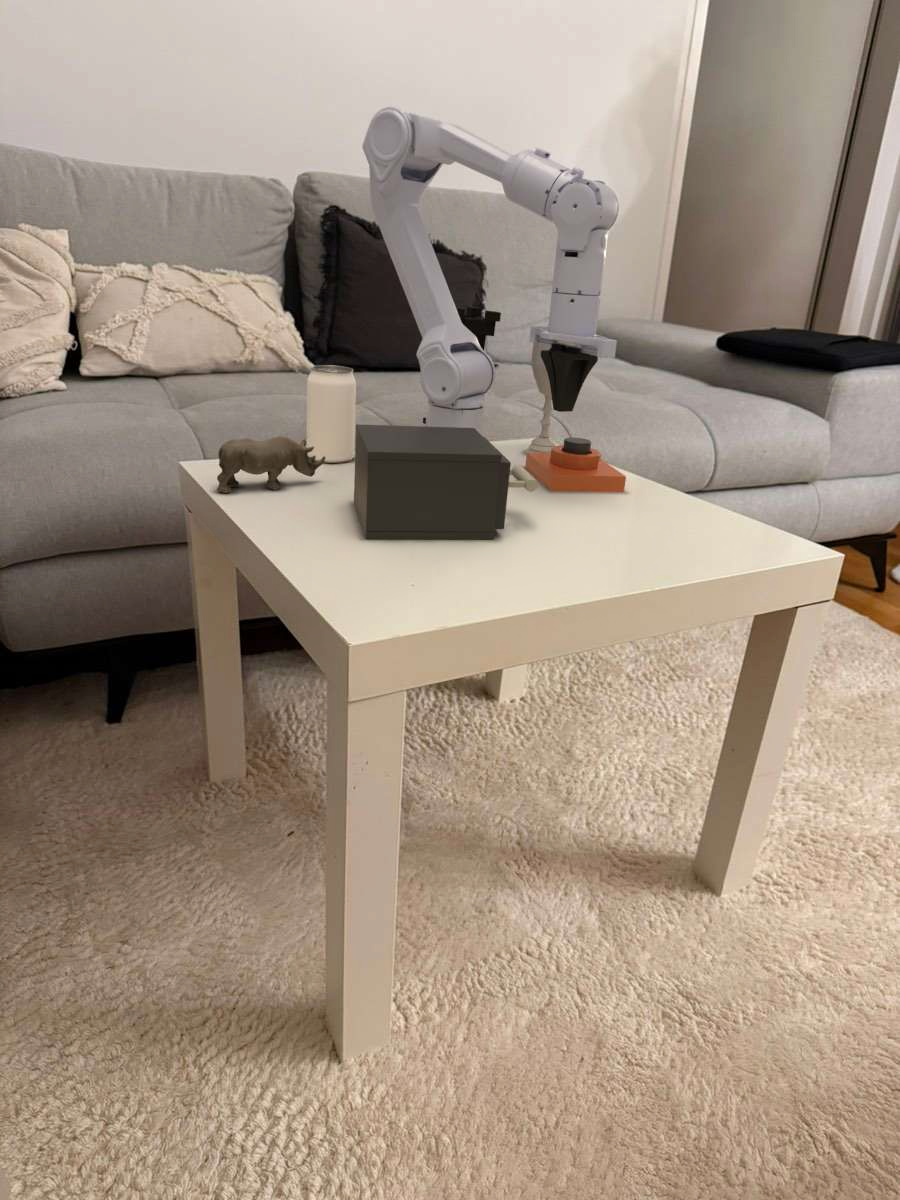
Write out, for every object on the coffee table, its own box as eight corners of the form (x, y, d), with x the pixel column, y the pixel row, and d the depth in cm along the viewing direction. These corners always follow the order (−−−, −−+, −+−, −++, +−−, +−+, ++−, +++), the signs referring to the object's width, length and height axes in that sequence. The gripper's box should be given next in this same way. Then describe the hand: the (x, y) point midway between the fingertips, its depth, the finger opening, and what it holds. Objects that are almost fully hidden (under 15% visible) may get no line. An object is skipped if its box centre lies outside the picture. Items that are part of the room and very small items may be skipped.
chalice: (512, 455, 126) (525, 328, 119) (524, 446, 132) (537, 325, 125) (560, 462, 124) (576, 334, 117) (570, 453, 130) (586, 330, 123)
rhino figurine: (332, 486, 104) (333, 437, 101) (220, 495, 97) (219, 443, 95) (319, 477, 107) (319, 430, 105) (210, 486, 100) (208, 435, 98)
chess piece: (436, 456, 120) (453, 307, 113) (413, 443, 127) (428, 302, 119) (485, 456, 124) (505, 313, 116) (460, 444, 130) (477, 307, 123)
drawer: (512, 498, 101) (519, 438, 99) (540, 529, 91) (549, 463, 88) (374, 496, 98) (376, 434, 95) (387, 529, 88) (390, 459, 85)
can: (345, 466, 113) (348, 374, 108) (299, 460, 114) (299, 369, 110) (360, 455, 119) (362, 367, 114) (316, 450, 120) (316, 363, 115)
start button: (559, 449, 115) (560, 436, 114) (584, 450, 116) (585, 437, 115) (567, 456, 112) (569, 443, 111) (593, 456, 113) (595, 443, 112)
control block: (525, 467, 120) (528, 439, 118) (591, 468, 122) (595, 441, 120) (550, 491, 109) (554, 461, 107) (623, 492, 111) (628, 462, 109)
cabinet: (468, 504, 101) (474, 427, 98) (493, 539, 90) (502, 454, 86) (353, 502, 98) (356, 424, 95) (365, 539, 87) (368, 451, 84)
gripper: (513, 287, 103) (504, 400, 109) (587, 298, 92) (572, 423, 97) (560, 289, 107) (549, 399, 112) (637, 299, 95) (620, 421, 100)
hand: (562, 410), depth 105 cm, fingers closed
